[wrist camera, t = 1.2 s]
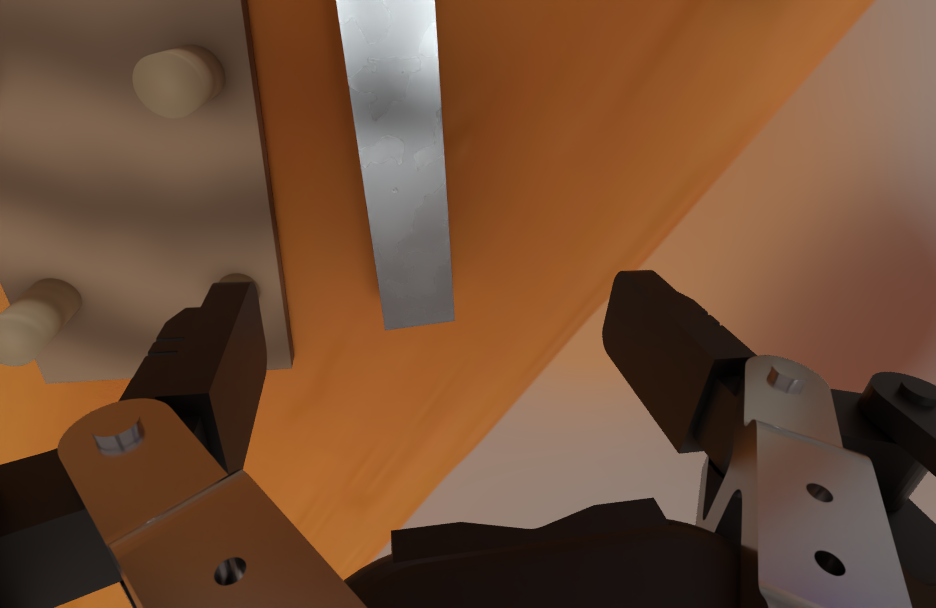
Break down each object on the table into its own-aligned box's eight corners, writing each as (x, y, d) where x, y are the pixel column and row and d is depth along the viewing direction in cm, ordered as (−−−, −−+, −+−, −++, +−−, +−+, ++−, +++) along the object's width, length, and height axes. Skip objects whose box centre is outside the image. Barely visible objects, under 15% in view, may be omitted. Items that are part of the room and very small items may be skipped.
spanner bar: (330, -56, 20) (325, -68, 17) (418, -59, 21) (430, -71, 17) (381, 291, 29) (385, 330, 25) (443, 283, 29) (454, 320, 26)
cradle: (-149, -111, 17) (-325, -149, 12) (236, -73, 19) (201, -95, 15) (57, 369, 27) (-1, 440, 23) (294, 355, 29) (283, 418, 25)
